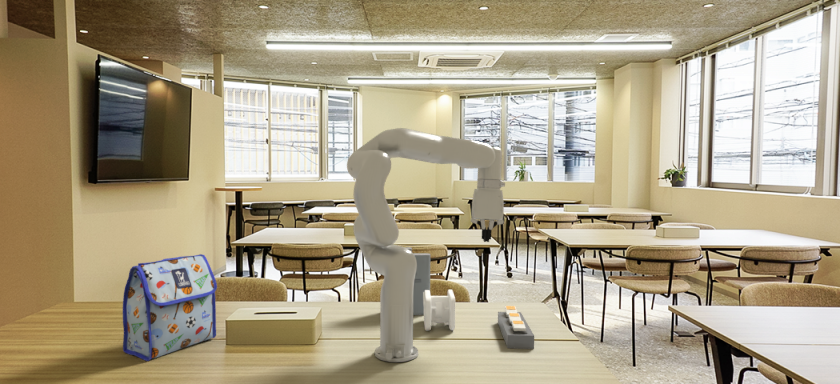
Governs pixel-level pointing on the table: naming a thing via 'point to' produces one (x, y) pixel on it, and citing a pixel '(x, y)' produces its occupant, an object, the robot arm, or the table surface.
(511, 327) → the power strip
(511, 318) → the middle rocker
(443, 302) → the cable organizer
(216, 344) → the table surface
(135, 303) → the lunch bag
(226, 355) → the table surface
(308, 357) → the table surface
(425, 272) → the blue-grey tall flat block
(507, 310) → the far rocker
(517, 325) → the plate
